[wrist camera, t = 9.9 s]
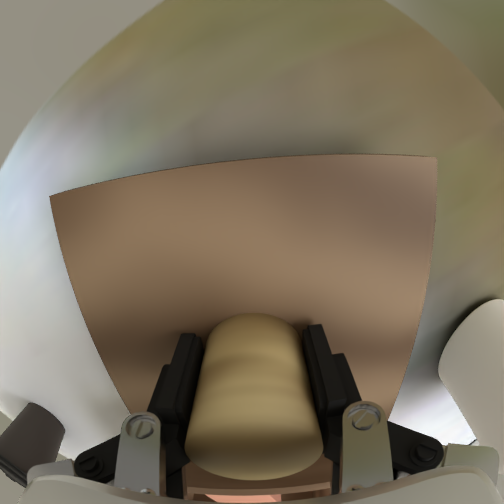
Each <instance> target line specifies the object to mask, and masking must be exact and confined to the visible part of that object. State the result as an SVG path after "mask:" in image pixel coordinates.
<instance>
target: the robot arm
mask: <svg viewBox="0 0 504 504" xmlns="http://www.w3.org/2000/svg"><path fill="white" fill-rule="evenodd" d="M302 347H303V351H304V356H305V360H306V365H307V370H308V374H309V379H310V384H311V388H312V393H313V398H314V403H315V408H316V413H317V417H318V422H319V426H320V431H321V437H322V442H323V452H322V454H324V457H326V458H327V459H329V460H331V480H330V495H329V496H324V497H317V498H310V499H302V500H293V501H281V502H265V503H221V502H204V501H193V500H188V495H187V482H186V467H185V465H186V464H188V463H190V459H189V458H188V456H187V455H186V452H185V448H184V447H185V441H186V436H187V431H188V426H189V421H190V416H191V412H192V407H193V402H194V397H195V393H196V388H197V383H198V379H199V374H200V369H201V365H202V360H203V356H204V348H203V344H202V340H201V337H197V336H196V334H195V333H183V334H181V335H180V338H179V340H178V343H177V346H176V349H175V352H174V355H173V357H172V360H171V363H170V364H165V365H163V367H162V370H161V372H160V375H159V378H158V380H157V383H156V386H155V389H154V391H153V394H152V397H151V400H150V403H149V406H148V408H147V411H146V412H144V411H141V412H136V413H134V414H131V415H130V416H128V417H127V418H126V419H125V421H124V422H123V424H122V428H121V434H119V435H117V436H115V437H113V438H111V439H109V440H107V441H105V442H103V443H101V444H99V445H97V446H95V447H93V448H91V449H89V450H86V451H84V452H82V453H81V454H79V455H78V457H77V458H76V460H75V461H73V460H72V459H67V460H62V461H57V462H52V463H47V464H41V465H36V466H33V467H32V468H31V469H29V471H28V473H27V484H28V485H27V487H26V488H25V490H24V491H23V493H22V495H21V497H20V499H19V501H18V503H17V504H504V475H501V474H498V472H499V462H500V458H499V454H498V452H497V450H496V449H494V448H493V447H489V446H480V444H479V442H478V440H476V441H475V442H473V443H472V444H471V445H461V444H451V443H448V445H447V446H445V445H442V444H441V443H440V442H439V441H438V440H437V439H435V438H433V437H430V436H427V435H424V434H421V433H419V432H416V431H413V430H410V429H408V428H405V427H402V426H400V425H397V424H395V423H392V422H390V421H387V420H386V415H385V412H384V410H383V409H382V407H381V406H379V405H378V404H376V403H374V402H371V401H362V399H361V396H360V393H359V391H358V388H357V385H356V383H355V380H354V377H353V375H352V372H351V369H350V367H349V364H348V362H347V359H346V357H345V355H344V353H338V354H332V352H331V349H330V346H329V344H328V341H327V338H326V335H325V332H324V329H323V326H322V324H315V325H308V326H307V329H303V331H302Z"/></svg>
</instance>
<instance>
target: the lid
mask: <svg viewBox="0 0 504 504" xmlns="http://www.w3.org/2000/svg"><path fill="white" fill-rule="evenodd" d="M49 197H50V203H51V208H52V213H53V218H54V222H55V227H56V231H57V235H58V239H59V243H60V247H61V251H62V255H63V258H64V262H65V265H66V268H67V272H68V275H69V278H70V281H71V284H72V287H73V290H74V293H75V296H76V299H77V302H78V304H79V307H80V310H81V312H82V315H83V318H84V320H85V323H86V325H87V328H88V330H89V332H90V335H91V337H92V339H93V342H94V344H95V346H96V348H97V351H98V353H99V355H100V357H101V359H102V361H103V363H104V366H105V368H106V370H107V372H108V374H109V376H110V377H111V379H112V381H113V383H114V385H115V387H116V389H117V391H118V393H119V394H120V396H121V398H122V400H123V401H124V403H125V405H126V407H127V408H128V410H129V412H130V413H131V414H134V413H136V412H141V411H144V412H146V411H147V408H148V406H149V403H150V400H151V397H152V394H153V391H154V389H155V386H156V383H157V380H158V378H159V375H160V372H161V370H162V367H163V365H165V364H170V363H171V360H172V357H173V355H174V352H175V349H176V346H177V343H178V340H179V338H180V335H181V334H183V333H195V334H196V336H197V337H201V340H202V344H203V348H204V356H203V360H202V365H201V369H200V374H199V379H198V383H197V388H196V393H195V397H194V402H193V407H192V412H191V416H190V421H189V426H188V431H187V436H186V441H185V447H184V448H185V452H186V455H187V456H188V458H189V459H190V460H191V461H192V462H193V463H194V464H196V465H197V466H199V467H200V468H202V469H204V470H206V471H208V472H210V473H213V474H216V475H219V476H223V477H227V478H232V479H240V480H268V479H275V478H281V477H285V476H289V475H292V474H295V473H297V472H300V471H302V470H304V469H306V468H308V467H309V466H311V465H312V464H313V463H315V462H316V461H317V460H318V459H319V457H320V456H321V454H322V452H323V442H322V437H321V431H320V426H319V422H318V417H317V413H316V408H315V403H314V398H313V393H312V388H311V384H310V379H309V374H308V370H307V365H306V360H305V356H304V351H303V347H302V331H303V329H307V326H308V325H315V324H322V326H323V329H324V332H325V335H326V338H327V341H328V344H329V346H330V349H331V352H332V354H338V353H344V355H345V357H346V359H347V362H348V364H349V367H350V369H351V372H352V375H353V377H354V380H355V383H356V385H357V388H358V391H359V393H360V396H361V399H362V401H371V402H374V403H376V404H378V405H379V406H381V407H382V409H383V410H384V412H385V415H386V420H387V421H388V418H389V416H390V413H391V411H392V408H393V406H394V403H395V401H396V398H397V395H398V392H399V390H400V387H401V384H402V381H403V378H404V375H405V372H406V369H407V366H408V363H409V359H410V356H411V353H412V349H413V345H414V342H415V338H416V334H417V330H418V326H419V322H420V318H421V313H422V309H423V304H424V299H425V294H426V289H427V283H428V277H429V271H430V264H431V257H432V249H433V240H434V230H435V218H436V200H437V158H436V157H427V156H416V155H394V154H318V155H295V156H279V157H265V158H253V159H243V160H233V161H224V162H215V163H207V164H200V165H192V166H186V167H179V168H173V169H166V170H160V171H155V172H149V173H143V174H138V175H133V176H128V177H123V178H118V179H114V180H109V181H104V182H100V183H96V184H91V185H87V186H83V187H79V188H75V189H71V190H67V191H64V192H61V193H58V194H54V195H51V196H49Z"/></svg>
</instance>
